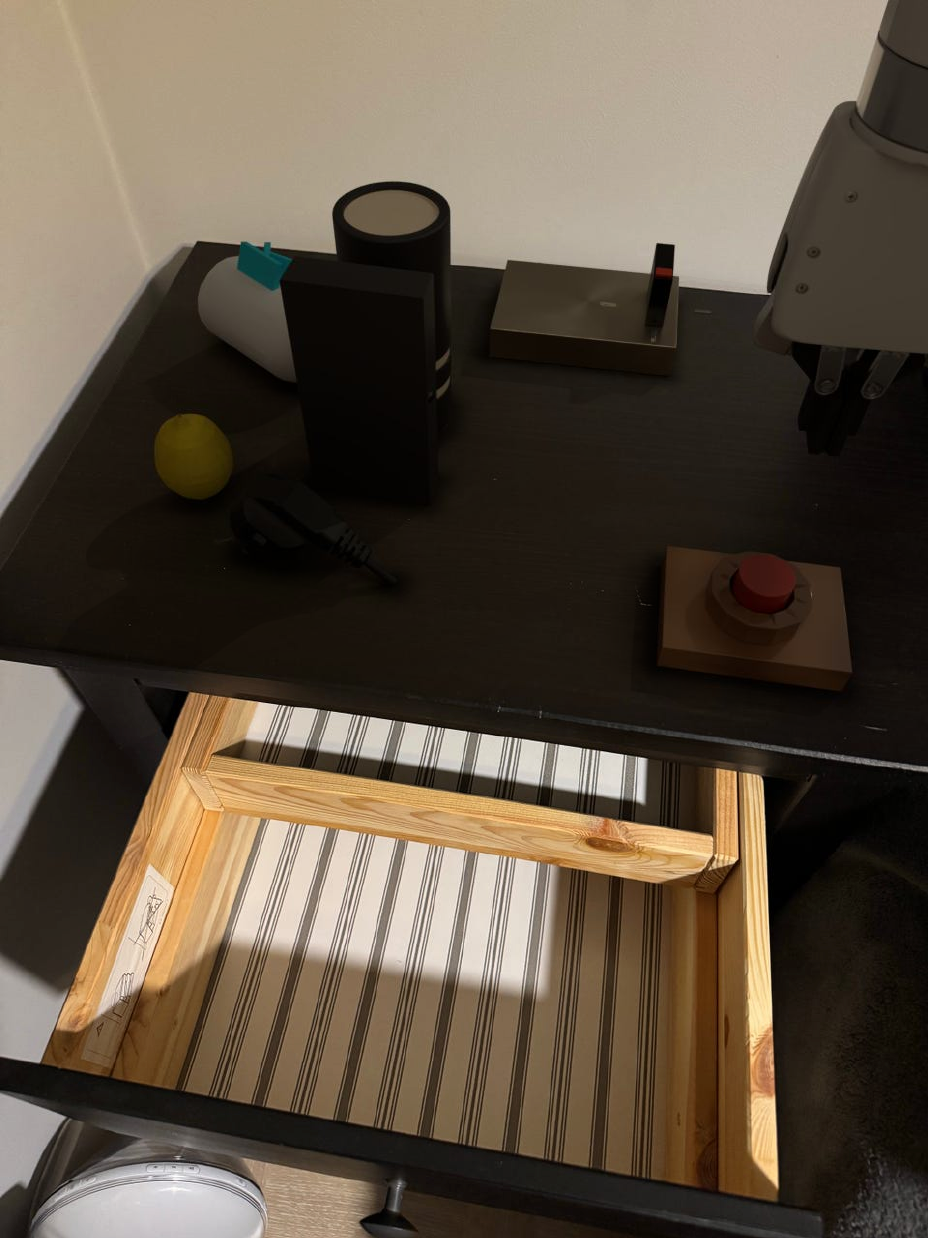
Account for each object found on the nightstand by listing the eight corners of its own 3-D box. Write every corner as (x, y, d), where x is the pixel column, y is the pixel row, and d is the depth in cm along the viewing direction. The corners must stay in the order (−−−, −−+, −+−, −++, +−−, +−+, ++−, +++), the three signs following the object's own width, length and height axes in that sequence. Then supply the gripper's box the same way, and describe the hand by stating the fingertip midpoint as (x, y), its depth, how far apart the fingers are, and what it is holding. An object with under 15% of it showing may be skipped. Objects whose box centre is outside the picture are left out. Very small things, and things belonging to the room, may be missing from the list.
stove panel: (703, 307, 85) (711, 277, 83) (702, 380, 79) (710, 349, 76) (506, 287, 87) (507, 257, 85) (489, 357, 81) (490, 326, 78)
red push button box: (830, 587, 65) (849, 549, 61) (841, 691, 59) (862, 656, 56) (661, 565, 66) (671, 527, 63) (656, 666, 60) (667, 630, 57)
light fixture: (470, 393, 78) (473, 188, 63) (433, 506, 69) (427, 298, 55) (360, 378, 79) (339, 173, 65) (311, 486, 70) (275, 278, 56)
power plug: (383, 607, 62) (239, 496, 59) (335, 641, 68) (202, 542, 65) (416, 550, 65) (281, 442, 62) (367, 587, 71) (242, 490, 68)
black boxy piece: (647, 289, 82) (656, 239, 78) (665, 290, 82) (675, 241, 78) (644, 324, 79) (654, 274, 75) (663, 326, 78) (673, 276, 75)
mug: (300, 289, 69) (205, 231, 74) (280, 399, 74) (193, 338, 79) (404, 287, 78) (313, 235, 83) (380, 385, 83) (295, 331, 88)
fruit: (245, 514, 69) (224, 432, 62) (171, 527, 68) (141, 446, 61) (237, 465, 72) (216, 383, 66) (166, 477, 71) (138, 395, 65)
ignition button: (786, 575, 60) (794, 557, 59) (789, 617, 58) (797, 600, 57) (732, 568, 61) (738, 550, 59) (732, 609, 59) (739, 592, 57)
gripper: (1124, 66, 39) (945, 409, 53) (766, 47, 40) (688, 386, 55) (1181, 148, 34) (969, 499, 48) (776, 123, 36) (687, 471, 50)
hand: (820, 438), depth 51 cm, fingers closed
